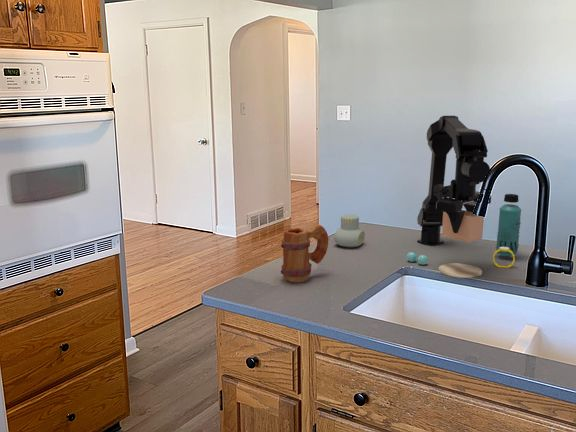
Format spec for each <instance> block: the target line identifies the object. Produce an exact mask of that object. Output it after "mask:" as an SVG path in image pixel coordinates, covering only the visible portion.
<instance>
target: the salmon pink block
mask: <svg viewBox="0 0 576 432" xmlns="http://www.w3.org/2000/svg"><path fill="white" fill-rule="evenodd" d="M464 211H465V213H464V216H463V219H462V222H461V225H460V228H459V230H458V233H454V232H453V229H452V226H451V222H450V219H449V216H448V214H447V213H446V212H443V225H442V226H441V237H445V238H448V239H453V240H458V241H461V242H466V243H472V242H475V241H478V240H482V239H483V234H484V233H483V231H484V223H485V221H484V218H485V216H484V217H481V216H477V215H474V214H473V212H469V211H466V210H464Z"/></svg>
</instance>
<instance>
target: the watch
mask: <svg viewBox="0 0 576 432" xmlns="http://www.w3.org/2000/svg"><path fill="white" fill-rule="evenodd" d="M499 251H508V252H510V253H511V254H512V256H511V257H512V261H511V262H510V264H508V265H503V264H498V263H497V262H496V259H495V258H496V257H495V256H496V255H497V252H499ZM515 256H516V255H515ZM515 256H514V254H513V252H512V251H511V250H509V248H508V247H499V249H498V250H496V249H495V251H494V252H493V254H492V260H493V264H494V265H495V267H497V268H503V269H505V268H506V269H509V268H511V267H513V265H514V263H515V258H516V257H515Z"/></svg>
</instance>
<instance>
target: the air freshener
mask: <svg viewBox="0 0 576 432" xmlns="http://www.w3.org/2000/svg"><path fill="white" fill-rule="evenodd" d="M359 222H360V217H359V216H358V215H357V214H356V215H355V214H343V215H341V216H340V227H339V228H337V229H336V230H335V232H334V237H333V239H334V240H333V241H334V242H335V243H336V244H337V245H339V246H340V247H344V248H357V247H360V246H361V245H362V244H363V243H364V240H365V237H366V234H365V231H364V230H363V229H361V228H359V227H360V226H359V225H360V224H359Z"/></svg>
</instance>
